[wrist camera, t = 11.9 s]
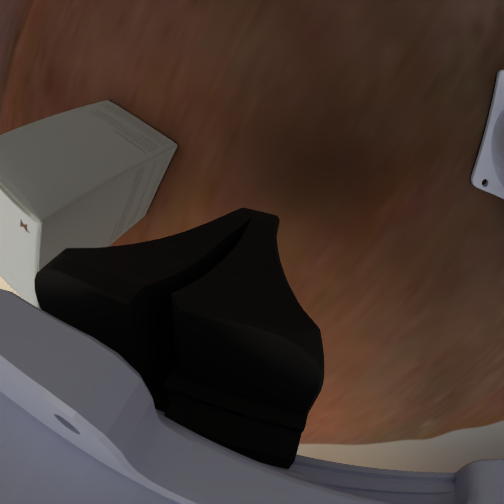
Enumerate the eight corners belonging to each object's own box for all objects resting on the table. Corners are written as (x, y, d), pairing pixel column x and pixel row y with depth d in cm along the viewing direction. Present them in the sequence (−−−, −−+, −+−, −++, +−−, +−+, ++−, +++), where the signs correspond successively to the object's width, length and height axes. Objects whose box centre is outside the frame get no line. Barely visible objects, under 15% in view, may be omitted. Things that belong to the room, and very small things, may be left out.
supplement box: (108, 96, 20) (-37, 144, 10) (181, 144, 21) (42, 226, 11) (83, 171, 25) (-32, 242, 14) (145, 219, 25) (37, 317, 15)
